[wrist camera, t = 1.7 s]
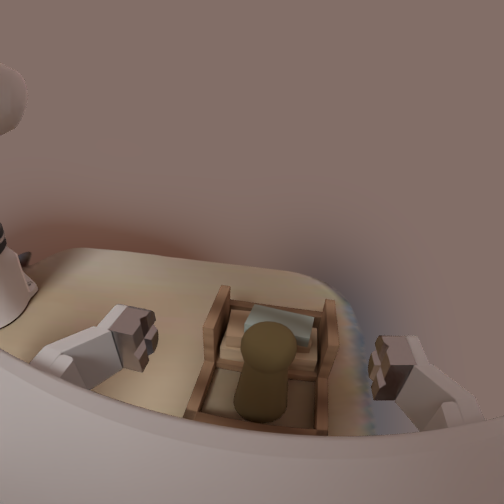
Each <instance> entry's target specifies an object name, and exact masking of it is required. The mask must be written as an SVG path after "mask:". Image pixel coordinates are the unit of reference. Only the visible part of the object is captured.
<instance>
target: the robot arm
mask: <svg viewBox="0 0 504 504" xmlns="http://www.w3.org/2000/svg"><path fill="white" fill-rule="evenodd" d="M27 99H28V93H27V87H26V83H25V81H24V79H23V77H22V76H21V75H20V74H19V73H18V72H17V71H16V70H14V69H11V68H9V67H7V66H5V65H4V64H2V63H1V62H0V136H1V135H3V134H5V133H7V132H9V131H11V130H13V129H15V128H16V127H17V126H18V124H19V122H20V121H21V119H22V117H23V115H24V112H25V109H26V106H27ZM37 291H38V287H37V285H36V283H35V282H34V281H33V280H32V279H30V278H29V277H28V276H27V275H26V274H25V273H24V272H23V270H22V267H21V264H20V261H19V258H18V255H17V253H14V251H13V250H11V249H9V248H8V247H7V246H6V239H5V233H4V230H3V227H2V224H1V223H0V328H1V327H3V326H5V325H7V324H9V323H10V322H12V321H13V320H14V319H16V318H17V317H18V316H19V315H20V314H21V313H22V312H23V310H24V309H25V307H26V306H27V304H28V301H29V300H30V298H31V297H32V296H33V295H34V294H35V293H36V292H37ZM155 321H156V318H155V313H154V312H153V311H151V310H146V309H142V308H137V307H132V306H127V305H122V304H116V305H115V306H114V307H113V308H112V310H111V311H110V312H109V313H108V314H107V315H106V316H105V318H104V319H103V320H102V321H101V322H100V323H99V325H98V326H97V327H94V326H93V327H90V328H88V329H85V330H83V331H80V332H78V333H75V334H73V335H71V336H68V337H66V338H63V339H61V340H58V341H56V342H53V343H51V344H48V345H46V346H44V347H43V349H42V350H41V351H40V352H39V353H38V354H37V355H36V356H35V357H34V359H33V360H32V361H31V362H30V363H29V364H28V363H26V362H25V361H23V360H21V359H19V358H17V357H15V356H13V355H11V354H9V353H8V352H6V351H4V350H2V349H0V504H504V416H500V417H497V418H493V419H489V420H484V417H483V414H482V412H481V409H480V407H479V404H478V402H477V400H476V397H474V396H473V395H472V394H471V393H469V392H468V391H467V390H465V389H464V388H463V387H462V386H460V385H459V384H458V383H456V382H455V381H454V380H453V379H451V378H450V377H449V376H447V375H446V374H445V373H444V372H442V371H441V370H440V369H438V368H437V367H436V366H434V365H430V363H429V361H428V359H427V356H426V354H425V352H424V349H423V347H422V345H421V342H420V341H419V338H418V337H417V336H416V335H414V336H382V335H380V336H379V337H378V338H377V340H376V342H375V346H376V350H375V351H374V352H373V353H371V356H370V359H369V365H368V373H369V378H370V379H371V380H372V381H373V383H372V386H371V389H372V394H373V400H395V402H396V404H397V405H398V406H399V407H400V408H401V410H402V411H403V412H404V413H405V414H406V415H407V417H408V418H409V419H410V420H411V421H412V423H413V424H414V425H415V426H416V427H417V428H418V430H419V431H420V432H413V433H403V434H392V435H374V436H311V435H294V434H281V433H271V432H261V431H253V430H246V429H239V428H232V427H226V426H220V425H214V424H209V423H204V422H199V421H194V420H189V419H185V418H180V417H176V416H172V415H168V414H164V413H160V412H156V411H152V410H149V409H145V408H142V407H138V406H135V405H132V404H128V403H125V402H122V401H119V400H116V399H113V398H110V397H107V396H104V395H101V394H99V393H96V392H93V391H90V390H91V389H92V388H94V387H95V386H97V385H98V384H100V383H102V382H103V381H105V380H106V379H108V378H109V377H111V376H112V375H114V374H116V373H117V372H119V371H120V370H122V369H123V368H126V369H130V370H134V371H138V372H143V371H144V369H145V367H146V365H147V364H148V362H149V358H148V355H150V354H152V353H154V351H155V349H156V347H157V344H158V329H157V328H156V327H155V326H154V325H153V324H154V322H155Z"/></svg>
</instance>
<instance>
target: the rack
mask: <svg viewBox="0 0 504 504" xmlns="http://www.w3.org/2000/svg"><path fill="white" fill-rule="evenodd" d="M265 321H271V322H277V323H280V324H283V325H284V326H286V327H288V328H289V329H290V330H291V331H292V333H293V334H294V336H295V338H296V341H297V353H296V356H295V358H294V360H293V362H292V363H291V365H290V366H289V367H288V379H294V380H303V381H313V382H315V410H314V429H303V428H293V427H284V426H275V425H268V424H261V423H254V422H248V421H242V420H236V419H231V418H225V417H220V416H215V415H211V414H206V413H202V412H200V411H201V408H202V406H203V403H204V400H205V397H206V394H207V391H208V388H209V385H210V382H211V379H212V376H213V373H214V370H215V367H217V368H222V369H227V370H233V371H239V372H241V371H242V368H243V364H244V360H243V357H242V354H241V350H240V347H241V339H242V337H243V335H244V333H245V332H246V330H247V329H248V328H250V327H251V326H252V325H254V324H256V323H259V322H265ZM203 343H204V359H205V361H204V363H203V366H202V369H201V371H200V374H199V376H198V379H197V382H196V384H195V387H194V389H193V392H192V395H191V397H190V400H189V403H188V405H187V408H186V410H185V413H184V416H183V418H185V419H189V420H194V421H199V422H204V423H209V424H214V425H220V426H226V427H232V428H239V429H246V430H253V431H261V432H271V433H281V434H294V435H311V436H328V376H329V373H330V371H331V368H332V365H333V363H334V360H335V357H336V354H337V351H338V349H339V338H338V327H337V317H336V308H335V300H327V299H326V300H325V304H324V308H323V312H319V311H310V310H302V309H294V308H287V307H279V306H272V305H265V304H258V303H251V302H244V301H238V300H231V299H230V286H224V285H221V287H220V289H219V292H218V294H217V296H216V298H215V301H214V303H213V305H212V307H211V310H210V312H209V314H208V316H207V319H206V321H205V323H204V325H203Z"/></svg>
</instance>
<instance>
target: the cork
mask: <svg viewBox="0 0 504 504" xmlns="http://www.w3.org/2000/svg"><path fill="white" fill-rule="evenodd" d="M240 350H241V354H242V357H243V360H244V364H243V368H242V371H241V375H240V378H239V382H238V385H237V389H236V392H235V396H234V406H235V409H236V411H237V412H238V413H239V415H240V416H242V417H243V418H244V419H246V420H248V421H251V422H254V423H268V422H273V421H274V420H276V419H278V418H280V417H281V416H282V414H283V413H284V412H285V409H286V407H287V385H288V367H289V366H290V365H291V363H292V362H293V360H294V358H295V356H296V353H297V341H296V338H295V336H294V334H293V333H292V331H291V330H290V329H289V328H288V327H286V326H284V325H283V324H280V323H277V322H271V321H265V322H259V323H256V324H254V325H252V326H251V327H250V328H248V329H247V330H246V332H245V333H244V335H243V337H242V339H241V347H240Z"/></svg>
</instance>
